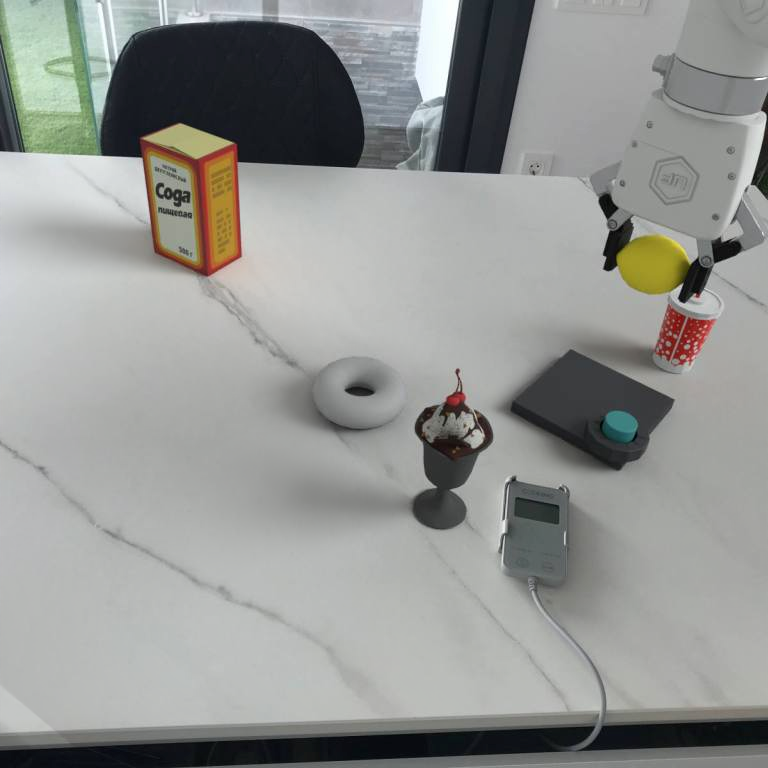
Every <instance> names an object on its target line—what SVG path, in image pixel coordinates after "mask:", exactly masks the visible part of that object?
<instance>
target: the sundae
mask: <svg viewBox="0 0 768 768" xmlns="http://www.w3.org/2000/svg"><path fill="white" fill-rule="evenodd" d="M454 373H455V375H456V377H457V387H456V389H455V390H454V392H453V393H452V394H449V395H447V396H446V398H445V401H443V402H442V403H441V404H433V405H431V406H426V407H424V408H423V410H422V411H421V412H420V414H419V415H418V417H417V418H416V420H415V423H414V433H415V435H416V436H417V438H418V439H419V440H420V441H421V442H422V447H423V448H422V450H423V451H422V454H423V456H422V457H423V460H422V461H423V462H422V463H423V470H424V476H425V477H426V479H427V480H428V481H429V482H430V483H431V484H432V485H433V486H435V487H432V488H431V487H430V488H428V489H425V490H423V491H421V492H420V493H419V494H417V496H416V497H415V499H414V501H413V512H414V513H415V516H416V517H417V518H418V520H419V521H420V522H422V523H423V524H424V525H427V526H428V527H431V528H434V529H439V530H447V529H451V528H455V527H457V526H459V525H460V524H461V523H463V521H464V520H465V518H466V516H467V506H466V504H465V501H464V500H463V499H462V497H460V496H459V495H458V494H456V492H454V491H452V490H455V489H458V488H460V487H462V486H464V485H465V484H466V482H467V481H468V479H469V477H470V476H471V474H472V472H473V470H474V467H475V466H476V462H477V459H478V457H479V455H480V454H481V453H483V452H484V451H486V450H487V449H488V448H489V447H491V445H492V443H493V442H494V430H493V427H492V425H491V423H490V421H489V420H488V418H487V417H486V416H485V415H484V414H483V413H481V412H480V411H478V410H476V409H474V408H473V406H471V404H469V403H468V402H467V401H466V399H467V396H466V394H465V393H464V392H463V382H462V380H461V377H460V375H459V374H460V373H461V370H460V368H456V369H455V372H454ZM459 388H460V389H459Z"/></svg>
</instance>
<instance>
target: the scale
mask: <svg viewBox="0 0 768 768" xmlns="http://www.w3.org/2000/svg"><path fill="white" fill-rule="evenodd" d="M675 401H676V399H674V398H673V397H670V396H669V395H667V394H664V393H662V392H661V391H658V390H656V389H654V388H652V387H650V386H648V385H646V384H645V383H642V382H640V381H638V380H636V379H633V378H632V377H629V376H628V375H625V374H623V373H621V372H619V371H617V370H615V369H613V368H611V367H609V366H607V365H605V364H603V363H600V362H598V361H596V360H594V359H592V358H590V357H588V356H586V355H585V354H582V353H580V352H578V351H576V350H574V349H572V348H570V349H569V350H568V351H566V352H565V353H564V354H563V355H561V357H560V358H559V359H558V360H557V361H556V362H555V363H553V364H552V365H551V366H550V367H549V368H548V369H547V370H546V371H545V372H543V373H542V374H541V375H540V376H539V377H538V378H537V379H536V380H534V381H533V382H532V383H531V384H530V385H529V386H528V387H527V388H525V389H524V390H523V391H522V392H521V393H520V394H519V395H518V396H517V397H516V398H514V399H513V400H512V402H511V406H510V412H511V413H514V414H516V415H517V416H519V417H521V418H523V419H524V420H527V422H529V423H532V424H533V425H536V426H537V427H539V428H541V429H543V430H544V431H547V432H548V433H550V434H552V435H554V436H555V437H557V438H559V439H561V440H563V441H565V442H567V443H569V444H570V445H572V446H574V447H576V448H577V449H579V450H581V451H583V452H585V453H586V454H588V455H590V456H592V457H594V458H595V459H597V460H600V461H601V462H603V463H605V464H607V465H608V466H611V467H612V468H614V469H615V470H618V471H621V470H622V469H623V468H624V467H625V465H626V464H627V463H631V462H636V461H639V460H640V459H641V458H642V456H643V455H644V454H645V453H646V451H647V448H648V446H649V443H650V441H651V440H650V439H651V438H650V435H651V434H652V433H653V432H654V431H655V430H656V428H657V427H658V425H660V423H661V422H662V421H663V419H664V418H665V417H667V415H668V414H669V413H670V411H671V410H672V408H673V405H674V403H675ZM612 411H622V412H626V413H628V414H630V415H631V416H633V417H634V418H635V419H636V421H637V423H638V427H637V430H636V432H635V435H634V437H633V439H632V440H631V441H630V442H628V443H620V442H614V441H612V440H610V439H609V438H607V437H606V436H605V435H604V434H603V432H602V426H603V423H604V420H605V417H606V415H607V414H608V413H609V412H612Z"/></svg>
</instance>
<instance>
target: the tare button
mask: <svg viewBox="0 0 768 768" xmlns="http://www.w3.org/2000/svg"><path fill="white" fill-rule="evenodd" d="M637 427H638V423H637V421H636V419H635V418H634V417H633V416H631V415H630V414H628V413H626V412H622V411H612V412H609V413H608V414H607V415H606V417H605V420H604V423H603V426H602V432H603V434H604V435H605V436H606V437H607V438H609V439H610V440H612V441H614V442H620V443H628V442H630V441H631V440H632V439H633V437H634V435H635V432H636V430H637Z"/></svg>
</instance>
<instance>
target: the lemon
mask: <svg viewBox="0 0 768 768" xmlns="http://www.w3.org/2000/svg"><path fill="white" fill-rule="evenodd" d="M616 261H617V265H618V266H617V268H618V271H619V274H620V276H621V278H622V280H623V281H624V282H625V283H626V285H627V286H628V287H629V288H631V289H633V290H635V291H636V292H639V293H642V294H646V295H648V296H649V295H651V296H652V295H663V294H667V293H668V294H669V292H671V291H673V290H674V289H676V288H677V287H678V286H680V285H681V284H683V283H684V280H685V278H686V275H687V272H688V270H689V267H690V265H691V263H692V262H690V259H689V257H688V255H687V253H686V251H685V250H684V248H683V247H682V246H681V245H680V244H679V243H678V242H677V241H676V240H674V239H672V238H670V237H668V236H664V235H660V234H645V235H642V236H638V237H635V238H633V239H632V240H630V242H629V243H628V244H626V245H625V246H624V247H623V248H622V249H621V250H620V251H619V252H618V253H617V255H616Z"/></svg>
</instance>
